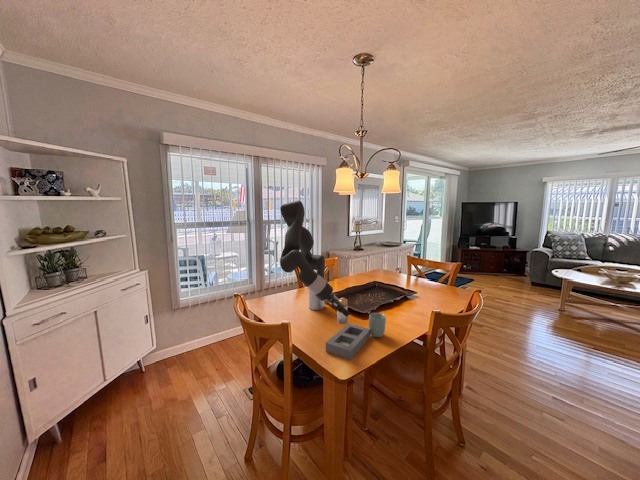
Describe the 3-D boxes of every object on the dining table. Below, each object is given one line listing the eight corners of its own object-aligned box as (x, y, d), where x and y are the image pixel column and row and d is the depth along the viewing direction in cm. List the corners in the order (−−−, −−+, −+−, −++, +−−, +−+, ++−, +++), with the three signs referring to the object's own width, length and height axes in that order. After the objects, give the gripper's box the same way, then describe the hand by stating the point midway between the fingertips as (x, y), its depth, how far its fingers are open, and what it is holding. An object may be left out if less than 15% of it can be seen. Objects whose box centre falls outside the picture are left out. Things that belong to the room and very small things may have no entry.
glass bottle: (340, 318, 116) (340, 295, 115) (348, 321, 114) (349, 297, 112) (335, 322, 112) (335, 298, 111) (344, 324, 110) (344, 300, 109)
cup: (366, 331, 129) (367, 312, 128) (381, 331, 130) (382, 312, 129) (370, 339, 121) (371, 319, 120) (386, 339, 122) (388, 319, 121)
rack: (325, 351, 112) (325, 342, 111) (347, 330, 130) (348, 323, 130) (350, 360, 106) (350, 351, 105) (370, 337, 124) (370, 329, 124)
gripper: (329, 285, 103) (357, 313, 106) (322, 276, 117) (348, 300, 120) (315, 299, 102) (344, 326, 106) (311, 288, 116) (337, 312, 120)
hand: (346, 312), depth 113 cm, fingers closed on glass bottle, 4 cm apart
